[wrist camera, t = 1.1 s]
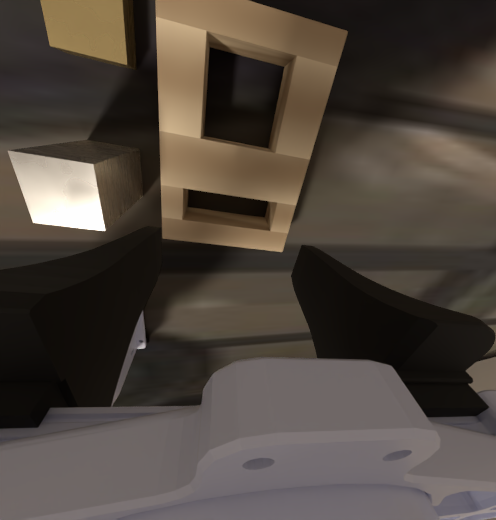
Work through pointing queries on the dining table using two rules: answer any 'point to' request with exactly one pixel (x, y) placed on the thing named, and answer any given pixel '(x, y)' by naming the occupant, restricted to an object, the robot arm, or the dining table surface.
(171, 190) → the socket block
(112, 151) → the square bit
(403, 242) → the dining table surface
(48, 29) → the tan rectangular block
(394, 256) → the dining table surface
